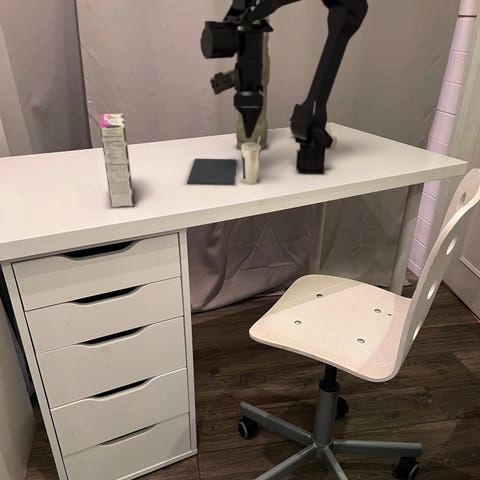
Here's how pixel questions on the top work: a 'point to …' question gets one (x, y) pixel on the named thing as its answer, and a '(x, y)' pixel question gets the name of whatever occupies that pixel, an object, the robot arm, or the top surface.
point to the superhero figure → (329, 134)
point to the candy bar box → (116, 160)
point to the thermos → (262, 123)
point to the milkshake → (250, 161)
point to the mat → (213, 172)
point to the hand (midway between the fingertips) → (248, 133)
